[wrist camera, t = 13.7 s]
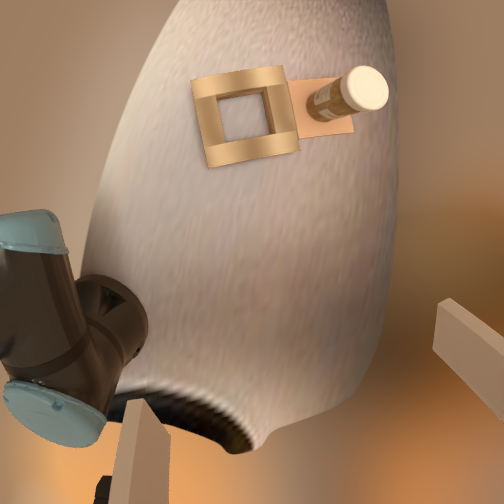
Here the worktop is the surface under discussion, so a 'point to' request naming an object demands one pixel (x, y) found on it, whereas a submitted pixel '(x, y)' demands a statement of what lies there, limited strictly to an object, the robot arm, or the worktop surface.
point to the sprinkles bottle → (349, 95)
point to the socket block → (241, 84)
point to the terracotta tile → (303, 120)
